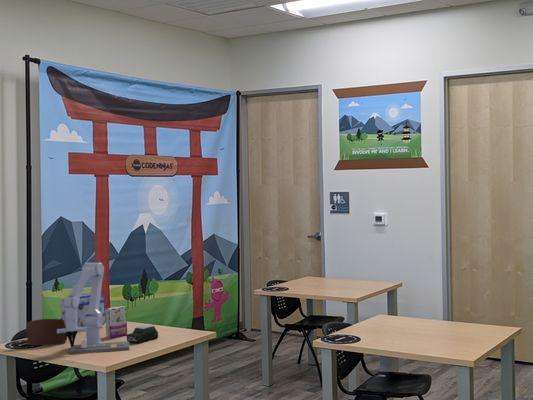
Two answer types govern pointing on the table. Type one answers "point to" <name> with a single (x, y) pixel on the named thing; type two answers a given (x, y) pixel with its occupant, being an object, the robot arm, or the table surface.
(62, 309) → the lunch box
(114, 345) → the console board
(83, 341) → the fader knob
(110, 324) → the candy bar box
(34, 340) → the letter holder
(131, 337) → the miniature car
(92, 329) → the robot arm
